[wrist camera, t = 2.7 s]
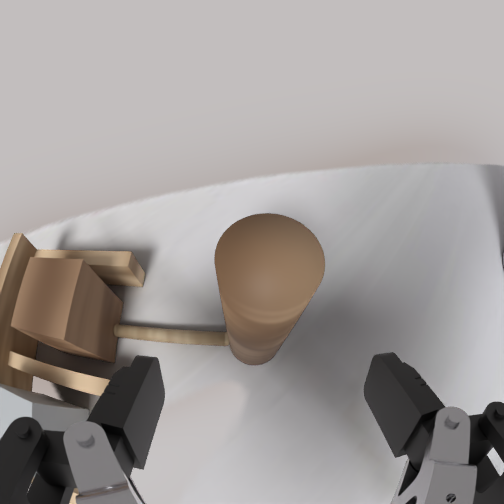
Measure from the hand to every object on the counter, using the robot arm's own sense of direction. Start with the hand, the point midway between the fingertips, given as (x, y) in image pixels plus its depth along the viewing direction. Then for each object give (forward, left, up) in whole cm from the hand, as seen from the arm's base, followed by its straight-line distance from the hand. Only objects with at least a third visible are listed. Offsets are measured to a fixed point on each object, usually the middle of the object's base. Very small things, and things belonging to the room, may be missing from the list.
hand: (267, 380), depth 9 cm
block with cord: (+7, -4, -9) cm, 12 cm away
